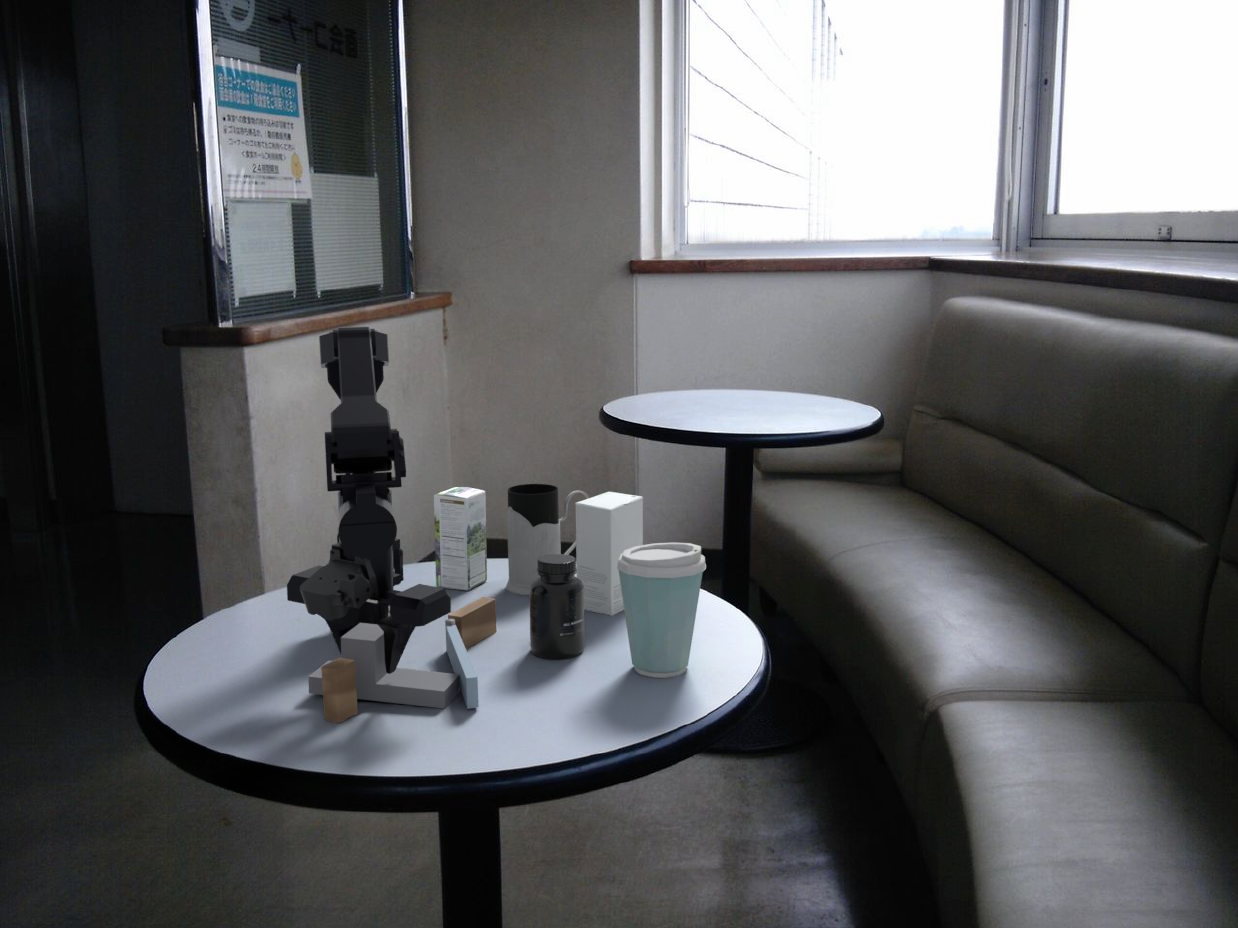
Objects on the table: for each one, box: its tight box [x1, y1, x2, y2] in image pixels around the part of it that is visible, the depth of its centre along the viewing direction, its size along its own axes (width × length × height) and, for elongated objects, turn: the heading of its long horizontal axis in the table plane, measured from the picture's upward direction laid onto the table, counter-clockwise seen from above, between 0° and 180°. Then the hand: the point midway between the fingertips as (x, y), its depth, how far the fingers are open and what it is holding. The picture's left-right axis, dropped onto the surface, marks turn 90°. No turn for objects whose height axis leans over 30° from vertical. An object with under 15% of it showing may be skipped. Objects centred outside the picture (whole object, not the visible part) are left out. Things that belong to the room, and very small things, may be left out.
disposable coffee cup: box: [617, 541, 707, 679], centre depth 127 cm, size 11×11×15 cm
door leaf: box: [444, 618, 479, 710], centre depth 126 cm, size 1×19×4 cm, turn 16°
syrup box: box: [433, 486, 488, 591], centre depth 162 cm, size 6×6×14 cm
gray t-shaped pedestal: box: [307, 623, 461, 709], centre depth 121 cm, size 16×5×7 cm, turn 79°
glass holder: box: [505, 483, 590, 596], centre depth 162 cm, size 9×14×15 cm, turn 123°
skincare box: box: [574, 491, 644, 617], centre depth 151 cm, size 8×7×16 cm
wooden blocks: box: [320, 596, 497, 724], centre depth 128 cm, size 2×31×6 cm, turn 154°
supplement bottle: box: [529, 553, 585, 660], centre depth 134 cm, size 7×7×12 cm
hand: (369, 667), depth 121 cm, fingers open, 6 cm apart
